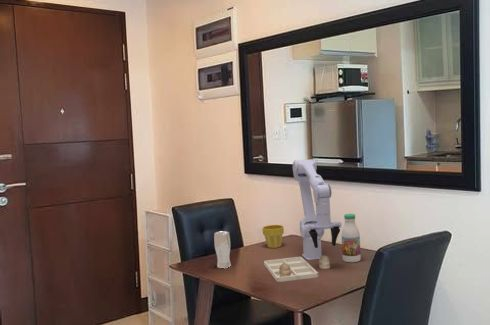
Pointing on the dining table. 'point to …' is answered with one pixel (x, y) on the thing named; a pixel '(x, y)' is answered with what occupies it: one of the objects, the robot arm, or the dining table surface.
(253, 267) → the dining table surface
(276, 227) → the plant pot
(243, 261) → the dining table surface
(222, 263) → the beer glass
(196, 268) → the dining table surface
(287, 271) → the tan tiered dome
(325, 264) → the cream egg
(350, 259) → the milk bottle
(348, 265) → the dining table surface
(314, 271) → the white compartment tray
